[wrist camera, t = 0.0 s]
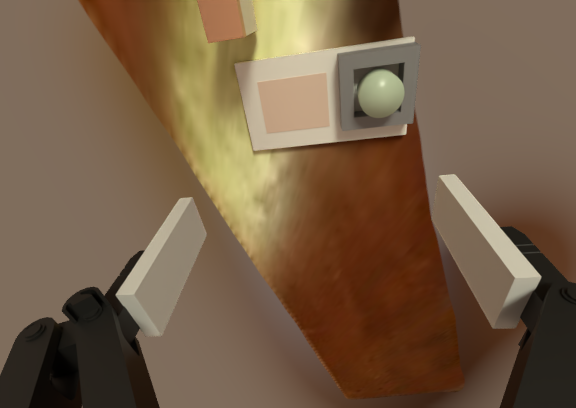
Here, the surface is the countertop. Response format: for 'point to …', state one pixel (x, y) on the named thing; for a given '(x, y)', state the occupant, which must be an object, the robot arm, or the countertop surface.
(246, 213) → the countertop surface
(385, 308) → the countertop surface
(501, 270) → the robot arm
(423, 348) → the countertop surface
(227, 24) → the grey and orange block
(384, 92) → the button
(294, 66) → the board
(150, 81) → the countertop surface
